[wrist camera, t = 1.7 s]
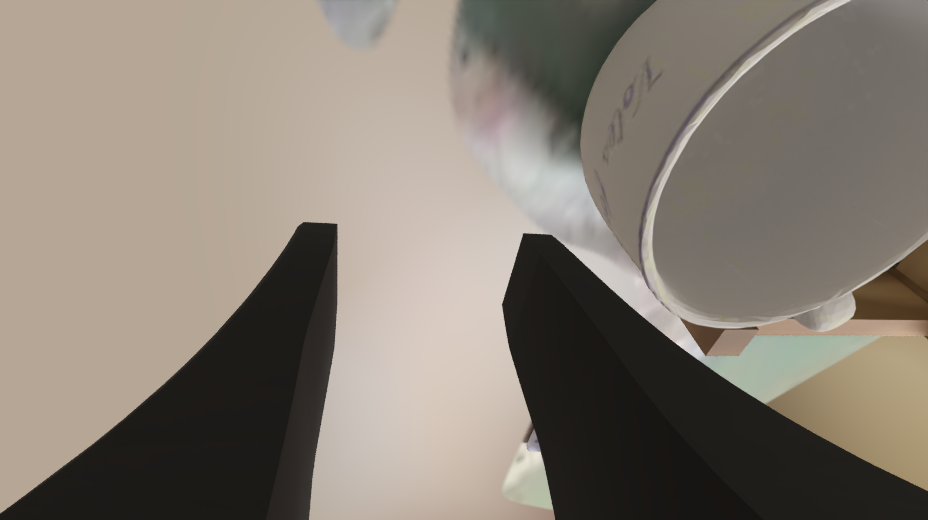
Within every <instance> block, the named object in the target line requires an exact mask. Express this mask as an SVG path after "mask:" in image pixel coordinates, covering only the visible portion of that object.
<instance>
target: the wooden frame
mask: <svg viewBox="0 0 928 520" xmlns="http://www.w3.org/2000/svg"><path fill="white" fill-rule="evenodd" d="M852 294H853V297H854V299H855V306H856V310H855V313H854V316H852V317H851V318H850V319H849V320H848V321H847V322H845V323H843V324H842V325H840V326H838V327H836V328H834V329H831V330H829V331H824V332H816V331H812V330H810V329H808V328H806V327H804V326H803V325H801V324H800V323H799V322H798V321H796V320H795V319H794V318H793V317H791V318H788V319H785V320H782V321H778V322H774V323H769V324H765V325H761V326H754V327H745V328H714V327H708V326H702V325H697V324H693V323H691V322H688V321H686V320H684V319H682V318H680V319H681V320H682V322H683V323H684V325H685V326H686V328H687V329H688V331H689V332H690V334H691V335H692V337H693V338H694V340H695V341H696V343H697V344H698V346H699V347H700V348H701V350H702V351H703V353H704V354H705V356H739V355H740V353H741V352H742V351H743V350H744V348H745V347H746V346H747V345H748V343H749V342H750V341H751V340H752V338H753V337H754V336H925V337H926V338H927V339H928V239H927V240H926V241H925V242H923V243H922V244H921V245H920V246H918V247H917V248H916V249H914V250H913V251H912V252H911V253H909V254H908V255H907V256H906V257H905V258H904V259H903V260H902V261H901V262H900V263H899V264H898V265H897V266H896V267H895V268H890V269H889V270H888V271H885V272H883V273H882V274H880V275H879V276H877V277H876V278H874V279H873V280H871V281H869V282H868V283H866V284H864V285H863V286H861V287H859V288H857V289H856V290H854V291H852Z"/></svg>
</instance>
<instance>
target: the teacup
mask: <svg viewBox="0 0 928 520" xmlns="http://www.w3.org/2000/svg"><path fill="white" fill-rule="evenodd" d="M580 145H581V160H582V167H583V172H584V177H585V181H586V184H587V186H588V189H589V192H590V194H591V197H592V199H593V201H594V203H595V205H596V207H597V209H598V210H599V212H600V214H601V216H602V217H603V219H604V220H605V222H606V223H607V225H608V227H609V228H610V229H611V231H612V232H613V234H614V235H615V237H616V238H617V240H618V241H619V242H620V244H621V245H622V247H623V248H624V249H625V251H626V252H627V253H628V255H629V256H630V257H631V259H632V260H633V261H634V263H635V264H636V265H637V266H638V268H639V269H640V270H641V272H642V275H643V277H644V280H645V282H646V284H647V286H648V288H649V289H650V290H651V291H652V293H653V294H654V295H655V297H656V298H657V300H659V301H660V302H661V303H662V304H663V305H664V306H665V307H666V308H667V309H668V310H669V311H670V312H672V313H673V314H675V315H677V316H678V317H680V318H682V319H684V320H686V321H688V322H691V323H693V324H697V325H702V326H708V327H714V328H745V327H754V326H761V325H765V324H769V323H774V322H778V321H782V320H785V319H788V318H791V317H793V318H794V319H795V320H796V321H798V322H799V323H800V324H801V325H803V326H804V327H806V328H808V329H810V330H812V331H816V332H824V331H829V330H831V329H834V328H836V327H838V326H840V325H842V324H843V323H845V322H847V321H848V320H849V319H850V318H851V317H852V316H854V313H855V310H856V306H855V299H854V297H853V294H852V291H854V290H856V289H857V288H859V287H861V286H863V285H864V284H866V283H868V282H869V281H871V280H873V279H874V278H876V277H877V276H879V275H880V274H882V273H883V272H885V271H886V270H888V269H889V268H890V267H892V266H893V265H894V264H896V263H897V262H899V261H900V260H902V259H904V258H905V257H906V256H907V255H908V254H909V253H911V252H912V251H913V250H914V249H916V248H917V247H918V246H920V245H921V244H922V243H923V242H925V241H926V240H927V239H928V0H657V1H656V2H655V3H653V4H652V5H651V6H650V7H649V8H648V9H647V10H646V11H645V12H644V13H643V14H642V15H640V16H639V17H638V18H637V19H636V21H635V22H634V23H633V24H632V25H631V26H630V27H629V28H628V29H627V31H626V32H625V33H624V34H623V36H622V37H621V38H620V39H619V41H618V42H617V44H616V45H615V47H614V48H613V49H612V51H611V53H610V54H609V56H608V58H607V59H606V61H605V62H604V64H603V66H602V67H601V69H600V71H599V73H598V76H597V78H596V80H595V82H594V84H593V87H592V89H591V92H590V95H589V97H588V101H587V105H586V108H585V112H584V118H583V123H582V129H581V141H580Z"/></svg>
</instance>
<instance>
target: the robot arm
mask: <svg viewBox="0 0 928 520" xmlns="http://www.w3.org/2000/svg"><path fill="white" fill-rule="evenodd" d="M502 307H503V314H504V320H505V327H506V332H507V338H508V343H509V348H510V352H511V355H512V359H513V362H514V365H515V368H516V372H517V375H518V378H519V382H520V384H521V388H522V391H523V395H524V398H525V401H526V404H527V407H528V411H529V413H530V417H531V420H532V423H533V427H534V430H533V432H532V434H531V436H530V438H529V441H528V443H527V449H528V451H530V452H541V455H542V459H543V462H544V466H545V471H546V475H547V480H548V485H549V490H550V495H551V500H552V505H553V510H554V515H555V520H928V491H926V490H924V489H922V488H920V487H918V486H916V485H914V484H912V483H910V482H908V481H906V480H903V479H901V478H899V477H897V476H895V475H893V474H891V473H889V472H887V471H885V470H883V469H881V468H879V467H876V466H874V465H872V464H870V463H869V462H866V461H865V460H863V459H861V458H859V457H857V456H855V455H853V454H851V453H850V452H848V451H846V450H844V449H842V448H840V447H838V446H836V445H835V444H833V443H831V442H829V441H827V440H825V439H823V438H822V437H820V436H818V435H816V434H814V433H813V432H811V431H809V430H807V429H806V428H804V427H802V426H800V425H799V424H797V423H795V422H793V421H792V420H790V419H788V418H786V417H785V416H783V415H781V414H780V413H778V412H776V411H775V410H773V409H772V408H770V407H768V406H767V405H765V404H764V403H762V402H760V401H759V400H757V399H756V398H754V397H752V396H751V395H749V394H747V393H746V392H744V391H743V390H741V389H740V388H738V387H737V386H735V385H733V384H732V383H730V382H729V381H727V380H726V379H724V378H723V377H721V376H720V375H718V374H717V373H716V372H714V371H713V370H711V369H710V368H709V367H707V366H706V365H704V364H703V363H702V362H700V361H699V360H697V359H696V358H695V357H693V356H692V355H690V354H689V353H688V352H686V351H685V350H684V349H682V348H681V347H680V346H678V345H677V344H676V343H674V342H673V341H672V340H670V339H669V338H668V337H667V336H665V335H664V334H663V333H662V332H661V331H659V330H658V329H657V328H656V327H654V326H653V325H652V324H651V323H649V322H648V321H647V320H646V319H645V318H643V317H642V316H641V315H640V314H639V313H637V312H636V311H635V310H634V309H633V308H632V307H630V306H629V305H628V304H627V303H626V302H625V301H624V300H623V299H621V298H620V297H619V296H618V295H617V294H616V293H615V292H614V291H613V290H611V289H610V288H609V287H608V286H607V285H606V284H605V283H604V282H603V281H602V280H601V279H599V278H598V277H597V276H596V275H595V274H594V273H593V272H592V271H591V270H590V269H589V268H588V267H587V266H585V265H584V264H583V263H582V262H581V261H580V260H579V259H578V258H577V257H576V256H575V255H574V254H573V253H572V252H570V251H569V250H568V249H567V248H566V247H565V246H564V245H563V244H562V243H561V242H559V241H558V240H557V239H556V238H555V237H553V236H552V235H546V234H526V233H524V234H523V237H522V240H521V243H520V247H519V250H518V253H517V257H516V260H515V263H514V267H513V270H512V273H511V277H510V280H509V283H508V287H507V290H506V293H505V297H504V301H503V303H502ZM336 313H337V224H330V223H311V222H310V223H309V222H303V223H302V224H301V225H299V226H298V227H297V229H296V231H295V233H294V234H293V236H292V238H291V239H290V241H289V242H288V244H287V246H286V247H285V249H284V250H283V252H282V253H281V254H280V256H279V257H278V259H277V260H276V261H275V263H274V264H273V266H272V267H271V268H270V270H269V271H268V272H267V274H266V275H265V276H264V277H263V279H262V280H261V281H260V283H259V284H258V285H257V286H256V288H255V289H254V290H253V291H252V293H251V294H250V295H249V296H248V298H247V299H246V300H245V301H244V302H243V304H242V305H241V306H240V307H239V308H238V309H237V310H236V311H235V313H234V314H233V315H232V316H231V317H230V318H229V319H228V320H227V321H226V323H225V324H224V325H223V326H222V327H221V328H220V329H219V330H218V332H217V333H216V334H215V335H214V336H213V337H212V338H211V339H210V340H209V341H208V342H207V343H206V344H205V345H204V346H203V347H202V348H201V349H200V350H199V351H198V352H197V353H196V354H195V355H194V356H193V357H192V358H191V359H190V360H189V361H188V362H187V363H186V364H185V365H184V366H183V367H182V368H181V369H180V370H179V371H178V372H177V373H176V374H174V376H172V377H171V378H170V379H169V380H168V381H167V382H166V383H165V384H164V385H162V386H161V387H160V388H159V389H158V390H157V391H156V392H154V393H153V394H152V395H151V396H150V397H149V398H148V399H146V400H145V401H144V402H143V403H142V404H141V405H140V406H138V407H137V408H136V409H135V410H134V411H133V412H131V413H130V414H129V415H128V416H127V417H126V418H124V420H122V421H121V422H120V423H118V424H117V425H116V426H115V427H113V428H112V429H111V430H110V431H109V432H107V433H106V434H105V435H104V436H102V437H101V438H100V439H99V440H97V441H96V442H95V443H94V444H92V445H91V446H90V447H88V448H87V449H86V450H84V451H83V452H82V453H81V454H79V455H78V456H77V457H75V458H74V459H73V460H71V461H70V462H69V463H67V464H66V465H65V466H63V467H62V468H61V469H59V470H58V471H57V472H55V473H54V474H53V475H51V476H50V477H49V478H47V479H46V480H45V481H43V482H42V483H41V484H39V485H38V486H37V487H35V488H34V489H33V490H31V491H30V492H29V493H27V494H26V495H25V496H23V497H22V498H21V499H19V500H18V501H17V502H15V503H14V504H13V505H11V506H10V507H9V508H7V509H6V510H5V511H3V512H2V513H0V520H309V511H310V499H311V488H312V477H313V469H314V462H315V455H316V454H315V453H316V448H317V443H318V437H319V432H320V426H321V420H322V415H323V409H324V403H325V398H326V392H327V387H328V381H329V375H330V369H331V364H332V358H333V352H334V344H335V343H334V342H335V329H336Z"/></svg>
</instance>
